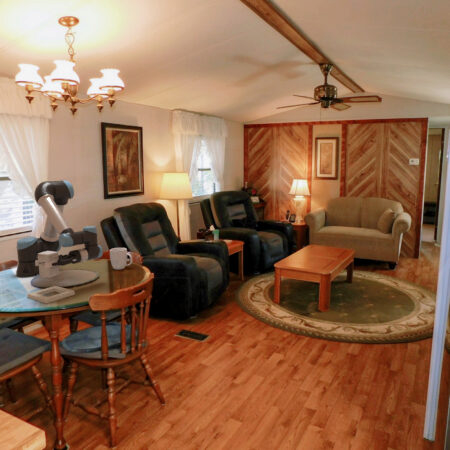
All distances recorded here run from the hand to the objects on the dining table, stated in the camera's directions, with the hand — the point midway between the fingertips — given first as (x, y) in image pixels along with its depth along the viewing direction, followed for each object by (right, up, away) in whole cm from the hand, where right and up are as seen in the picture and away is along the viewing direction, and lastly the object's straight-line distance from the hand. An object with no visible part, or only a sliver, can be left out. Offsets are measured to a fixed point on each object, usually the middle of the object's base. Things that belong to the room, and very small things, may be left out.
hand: (40, 264), depth 220 cm
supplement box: (+3, -6, +5) cm, 9 cm away
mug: (+27, -9, +62) cm, 68 cm away
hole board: (+3, -18, +7) cm, 19 cm away
